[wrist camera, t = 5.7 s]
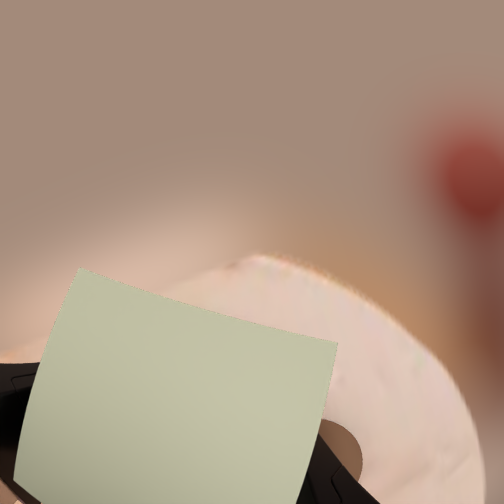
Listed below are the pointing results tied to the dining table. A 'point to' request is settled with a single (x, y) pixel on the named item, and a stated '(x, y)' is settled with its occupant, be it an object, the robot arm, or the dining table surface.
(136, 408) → the carton
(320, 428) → the disc
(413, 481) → the dining table surface
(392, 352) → the dining table surface
